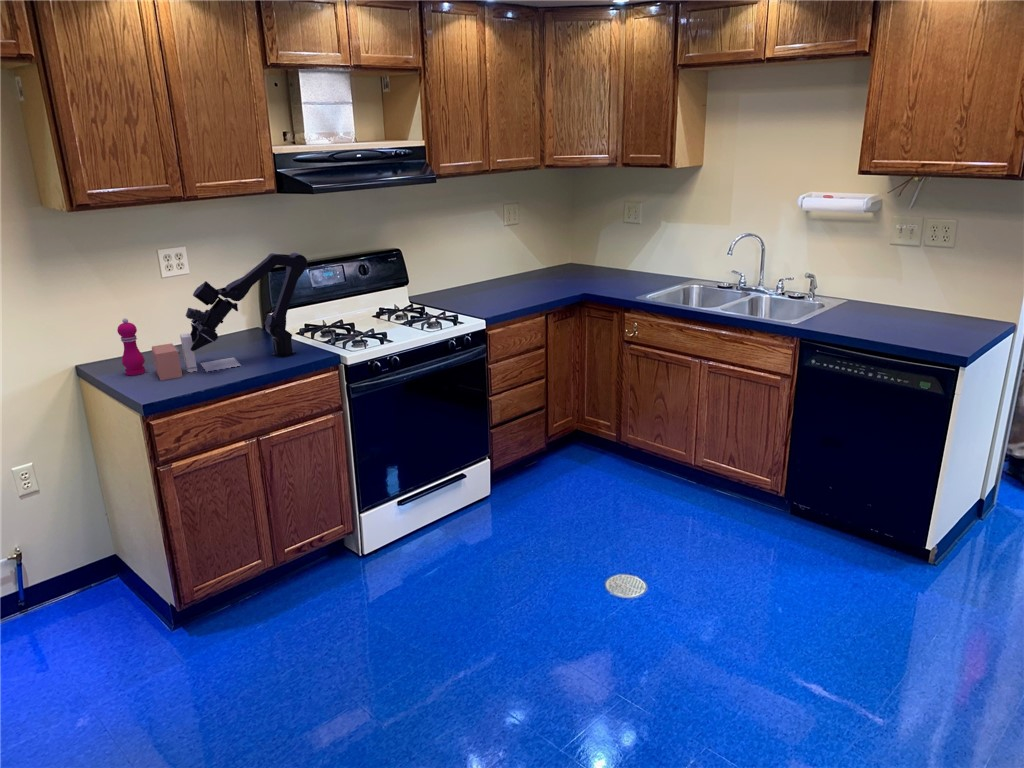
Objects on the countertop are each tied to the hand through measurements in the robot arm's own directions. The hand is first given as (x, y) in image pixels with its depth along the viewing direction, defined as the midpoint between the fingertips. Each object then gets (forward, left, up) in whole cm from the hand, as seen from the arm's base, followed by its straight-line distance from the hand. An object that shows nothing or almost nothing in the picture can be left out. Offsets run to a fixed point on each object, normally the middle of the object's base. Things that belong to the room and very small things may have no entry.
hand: (189, 347), depth 260 cm
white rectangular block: (0, 0, -8) cm, 8 cm away
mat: (-5, -8, -8) cm, 13 cm away
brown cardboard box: (+4, +7, -8) cm, 12 cm away
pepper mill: (+16, +11, -9) cm, 22 cm away
